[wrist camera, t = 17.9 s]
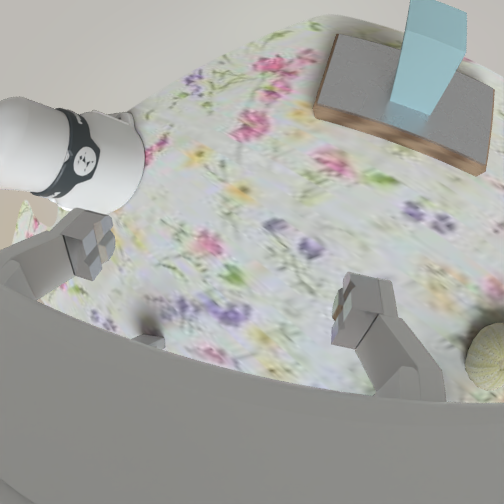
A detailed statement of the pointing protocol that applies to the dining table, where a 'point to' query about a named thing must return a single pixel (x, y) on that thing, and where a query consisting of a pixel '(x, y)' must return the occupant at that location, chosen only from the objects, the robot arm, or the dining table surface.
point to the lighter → (151, 341)
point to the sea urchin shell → (487, 358)
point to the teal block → (429, 54)
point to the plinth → (401, 117)
